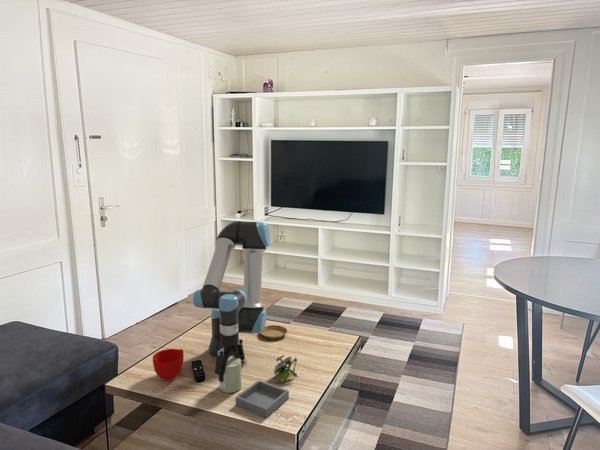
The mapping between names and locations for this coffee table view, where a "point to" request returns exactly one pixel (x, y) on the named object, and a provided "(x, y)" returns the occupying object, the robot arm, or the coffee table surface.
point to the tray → (262, 398)
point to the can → (233, 375)
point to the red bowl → (168, 363)
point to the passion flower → (282, 370)
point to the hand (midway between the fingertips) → (230, 382)
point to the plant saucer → (274, 332)
